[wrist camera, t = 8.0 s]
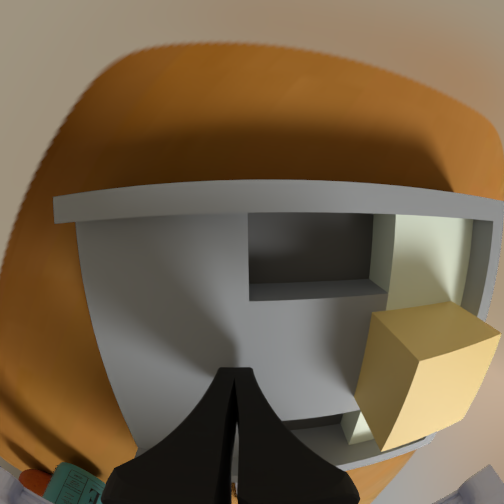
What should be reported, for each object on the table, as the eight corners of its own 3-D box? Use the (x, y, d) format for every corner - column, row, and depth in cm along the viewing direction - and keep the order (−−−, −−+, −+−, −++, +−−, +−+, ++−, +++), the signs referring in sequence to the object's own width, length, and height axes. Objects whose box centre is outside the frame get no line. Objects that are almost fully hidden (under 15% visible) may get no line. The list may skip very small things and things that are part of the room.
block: (428, 378, 12) (462, 419, 8) (353, 397, 12) (380, 451, 8) (451, 300, 11) (501, 333, 7) (371, 312, 11) (419, 361, 7)
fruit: (21, 451, 18) (0, 484, 10) (70, 480, 19) (53, 520, 11) (38, 476, 20) (22, 506, 12) (83, 500, 20) (70, 534, 12)
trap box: (408, 410, 16) (430, 443, 12) (150, 430, 15) (137, 471, 11) (456, 195, 12) (504, 201, 8) (101, 193, 12) (52, 197, 8)
